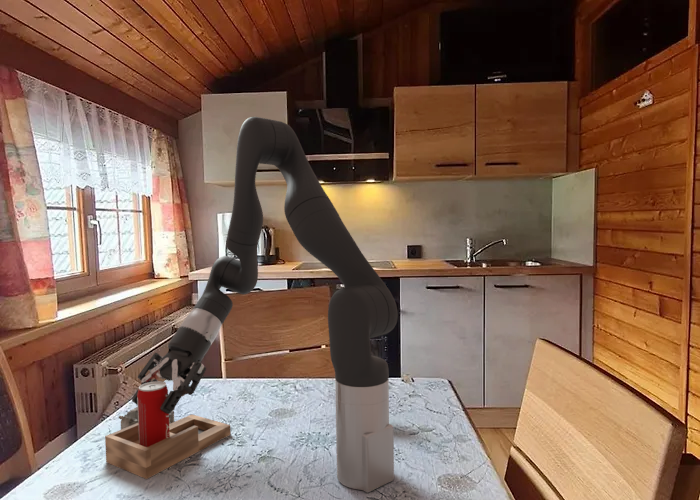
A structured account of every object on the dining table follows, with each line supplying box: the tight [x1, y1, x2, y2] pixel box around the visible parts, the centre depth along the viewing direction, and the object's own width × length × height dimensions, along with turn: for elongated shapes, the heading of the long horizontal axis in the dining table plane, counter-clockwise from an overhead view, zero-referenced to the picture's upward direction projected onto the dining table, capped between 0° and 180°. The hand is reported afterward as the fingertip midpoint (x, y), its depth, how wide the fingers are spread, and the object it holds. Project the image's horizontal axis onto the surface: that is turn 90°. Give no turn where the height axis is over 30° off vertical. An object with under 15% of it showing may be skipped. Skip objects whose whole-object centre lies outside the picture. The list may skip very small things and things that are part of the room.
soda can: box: [136, 381, 170, 447], centre depth 89 cm, size 6×6×12 cm
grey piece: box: [118, 406, 176, 430], centre depth 103 cm, size 11×8×4 cm
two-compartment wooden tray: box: [104, 414, 232, 480], centre depth 93 cm, size 12×20×5 cm, turn 149°
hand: (149, 407), depth 88 cm, fingers open, 8 cm apart
